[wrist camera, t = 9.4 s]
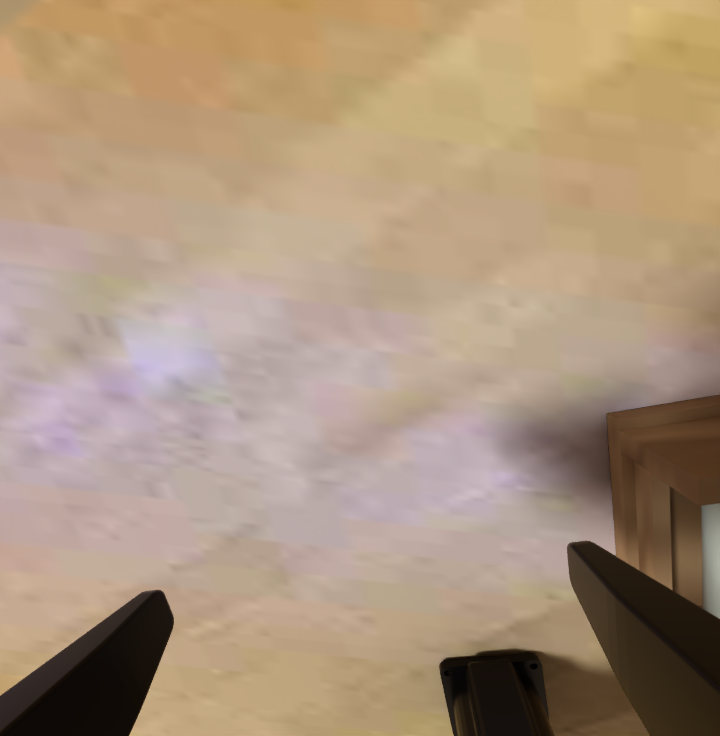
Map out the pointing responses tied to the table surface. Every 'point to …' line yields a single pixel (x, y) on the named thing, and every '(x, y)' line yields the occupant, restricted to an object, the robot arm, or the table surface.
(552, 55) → the table surface
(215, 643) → the table surface
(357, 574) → the table surface
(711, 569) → the roll
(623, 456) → the holder
